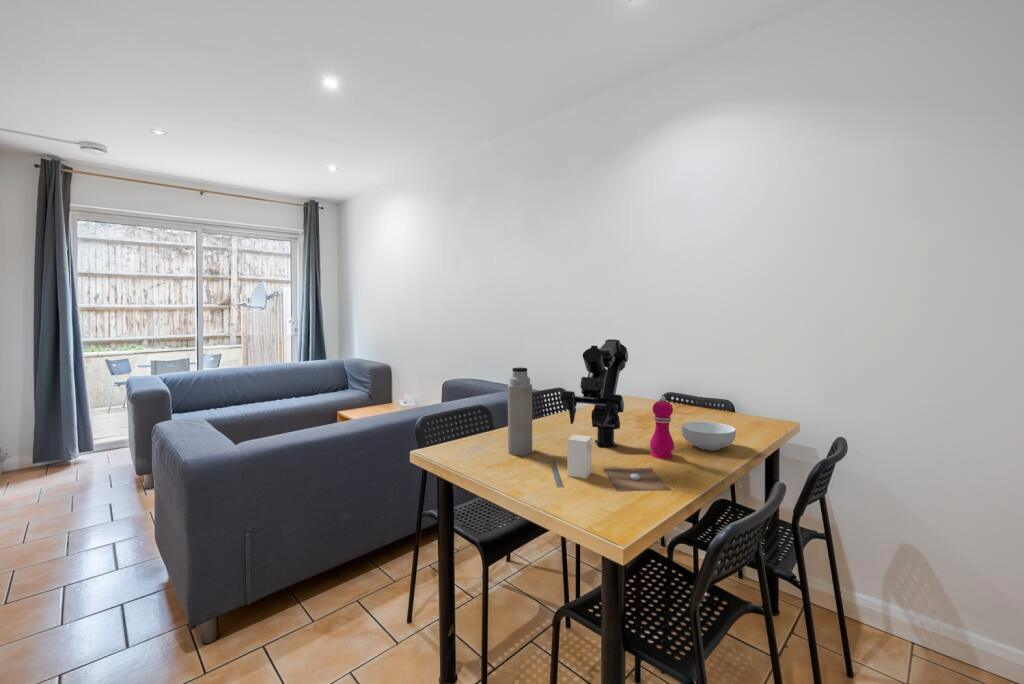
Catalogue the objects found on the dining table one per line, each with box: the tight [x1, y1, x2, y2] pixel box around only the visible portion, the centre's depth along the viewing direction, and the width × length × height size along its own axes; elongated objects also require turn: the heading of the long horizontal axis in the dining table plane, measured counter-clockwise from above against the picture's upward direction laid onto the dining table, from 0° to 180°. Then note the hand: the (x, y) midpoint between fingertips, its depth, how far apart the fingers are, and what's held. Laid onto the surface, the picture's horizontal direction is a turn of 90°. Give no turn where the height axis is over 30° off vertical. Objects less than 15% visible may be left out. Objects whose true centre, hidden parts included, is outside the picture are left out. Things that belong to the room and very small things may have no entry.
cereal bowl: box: [680, 420, 737, 451], centre depth 155 cm, size 17×17×7 cm
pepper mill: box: [649, 395, 675, 460], centre depth 142 cm, size 7×7×20 cm
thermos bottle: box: [507, 367, 533, 456], centre depth 149 cm, size 8×8×28 cm
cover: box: [566, 434, 593, 480], centre depth 127 cm, size 5×5×11 cm
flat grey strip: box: [550, 465, 565, 488], centre depth 128 cm, size 16×13×1 cm
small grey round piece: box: [631, 474, 640, 480], centre depth 123 cm, size 2×2×1 cm
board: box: [602, 467, 672, 492], centre depth 123 cm, size 16×14×1 cm
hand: (586, 425), depth 133 cm, fingers open, 9 cm apart
